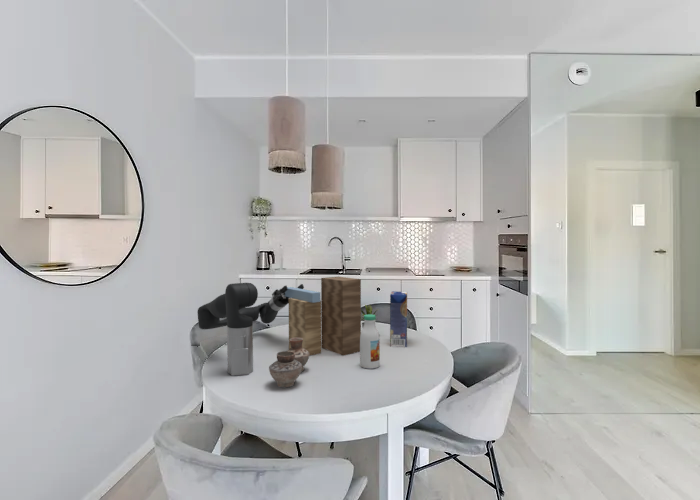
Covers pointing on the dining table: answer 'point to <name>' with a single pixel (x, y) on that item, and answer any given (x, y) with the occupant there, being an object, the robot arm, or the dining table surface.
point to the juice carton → (398, 319)
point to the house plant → (367, 313)
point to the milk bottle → (369, 343)
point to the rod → (303, 294)
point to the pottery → (289, 363)
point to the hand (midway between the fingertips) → (294, 286)
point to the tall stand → (341, 314)
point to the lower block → (305, 324)
